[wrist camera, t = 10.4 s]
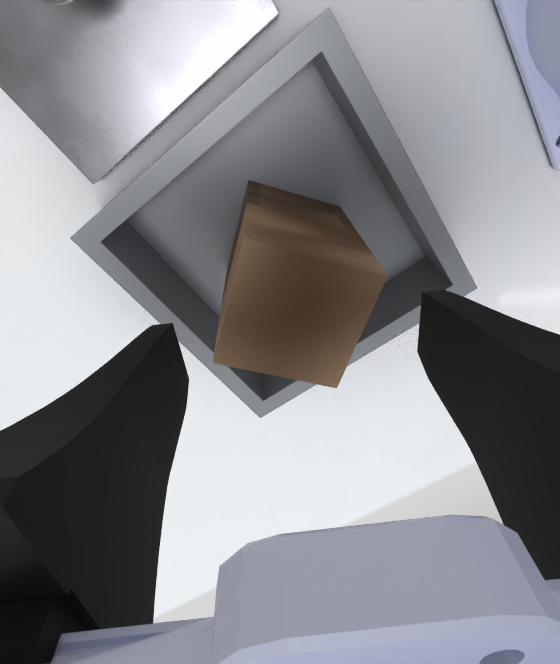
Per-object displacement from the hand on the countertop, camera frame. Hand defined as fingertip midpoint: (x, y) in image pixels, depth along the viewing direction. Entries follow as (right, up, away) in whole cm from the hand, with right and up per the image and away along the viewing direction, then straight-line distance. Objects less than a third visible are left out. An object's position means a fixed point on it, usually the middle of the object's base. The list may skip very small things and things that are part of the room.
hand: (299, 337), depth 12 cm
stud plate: (-8, +13, +3) cm, 15 cm away
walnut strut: (-1, +5, +8) cm, 9 cm away
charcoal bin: (-1, +5, +8) cm, 10 cm away
